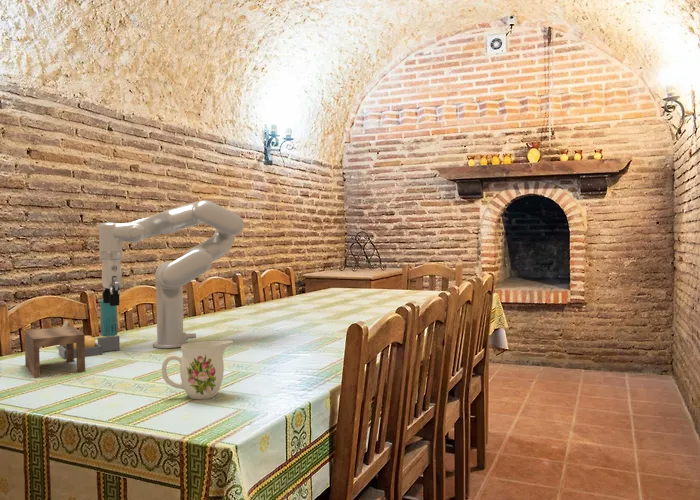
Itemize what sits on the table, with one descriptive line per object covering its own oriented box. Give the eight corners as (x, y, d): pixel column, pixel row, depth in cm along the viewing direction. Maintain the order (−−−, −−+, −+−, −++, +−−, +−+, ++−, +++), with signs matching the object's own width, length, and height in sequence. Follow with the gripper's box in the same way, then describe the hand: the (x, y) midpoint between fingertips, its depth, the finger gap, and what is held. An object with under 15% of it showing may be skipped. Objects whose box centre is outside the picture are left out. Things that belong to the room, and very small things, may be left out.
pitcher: (163, 393, 158) (162, 341, 158) (232, 388, 163) (231, 337, 163) (161, 404, 148) (160, 349, 147) (235, 398, 152) (234, 345, 152)
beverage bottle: (111, 340, 238) (111, 290, 237) (97, 339, 239) (96, 289, 239) (121, 337, 244) (120, 288, 244) (106, 337, 246) (105, 288, 245)
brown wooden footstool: (72, 360, 201) (72, 326, 201) (85, 371, 184) (84, 334, 184) (25, 365, 193) (24, 330, 193) (34, 377, 176) (33, 339, 176)
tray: (115, 348, 223) (114, 332, 223) (123, 353, 214) (122, 336, 214) (58, 354, 212) (58, 337, 212) (64, 360, 203) (64, 342, 203)
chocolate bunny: (52, 347, 224) (51, 320, 224) (70, 343, 231) (70, 318, 231) (62, 348, 222) (61, 321, 221) (80, 345, 229) (79, 318, 228)
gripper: (128, 257, 211) (128, 305, 211) (115, 255, 225) (116, 301, 225) (105, 257, 207) (105, 307, 207) (94, 256, 221) (94, 302, 221)
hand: (111, 304), depth 216 cm, fingers open, 9 cm apart
